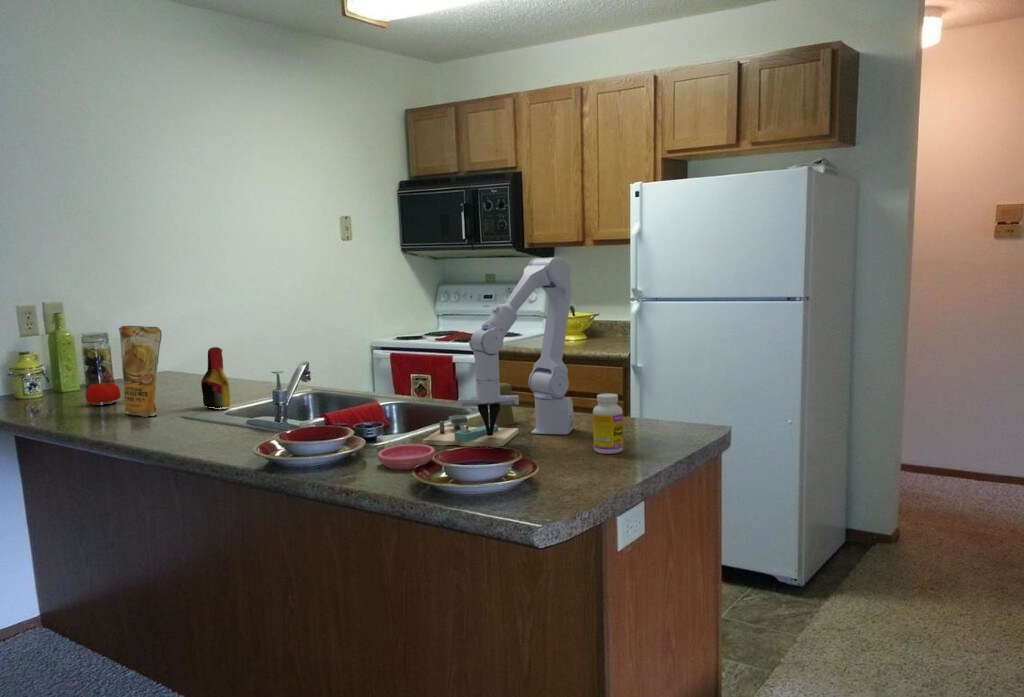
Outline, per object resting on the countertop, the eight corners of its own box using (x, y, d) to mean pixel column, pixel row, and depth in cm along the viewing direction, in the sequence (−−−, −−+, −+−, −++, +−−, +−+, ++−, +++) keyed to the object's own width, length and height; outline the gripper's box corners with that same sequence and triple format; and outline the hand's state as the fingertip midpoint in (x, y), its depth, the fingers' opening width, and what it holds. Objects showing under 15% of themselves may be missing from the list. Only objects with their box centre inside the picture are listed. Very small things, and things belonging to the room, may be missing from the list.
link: (466, 441, 181) (466, 434, 181) (454, 439, 184) (454, 432, 184) (499, 430, 192) (499, 423, 192) (487, 429, 194) (487, 422, 194)
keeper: (468, 435, 193) (467, 418, 192) (440, 438, 191) (439, 420, 191) (464, 431, 198) (463, 414, 198) (437, 433, 197) (436, 416, 196)
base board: (518, 433, 194) (518, 428, 194) (501, 447, 180) (500, 442, 180) (445, 430, 200) (445, 426, 200) (422, 444, 185) (422, 439, 185)
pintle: (469, 438, 185) (469, 425, 184) (467, 439, 183) (467, 426, 183) (464, 438, 185) (463, 425, 185) (462, 439, 184) (461, 426, 183)
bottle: (237, 408, 244) (232, 346, 242) (219, 412, 239) (213, 349, 237) (217, 405, 252) (212, 345, 249) (199, 409, 247) (193, 347, 244)
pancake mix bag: (136, 410, 249) (128, 324, 245) (171, 414, 238) (163, 325, 235) (116, 414, 243) (108, 326, 240) (151, 418, 233) (142, 327, 229)
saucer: (404, 475, 160) (403, 461, 159) (366, 467, 168) (366, 453, 167) (446, 462, 169) (446, 448, 168) (409, 454, 177) (408, 441, 177)
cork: (511, 425, 203) (510, 385, 202) (489, 425, 204) (488, 385, 203) (516, 420, 209) (514, 381, 208) (494, 420, 210) (493, 381, 209)
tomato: (98, 408, 255) (95, 386, 254) (80, 406, 261) (78, 384, 260) (128, 403, 264) (126, 381, 263) (111, 401, 270) (109, 380, 269)
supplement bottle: (615, 456, 168) (614, 398, 166) (588, 453, 171) (587, 396, 170) (628, 449, 173) (626, 393, 172) (601, 446, 177) (600, 391, 175)
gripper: (516, 375, 187) (518, 429, 189) (457, 378, 186) (459, 432, 188) (518, 379, 180) (520, 435, 182) (457, 382, 179) (460, 439, 181)
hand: (489, 434), depth 184 cm, fingers closed
